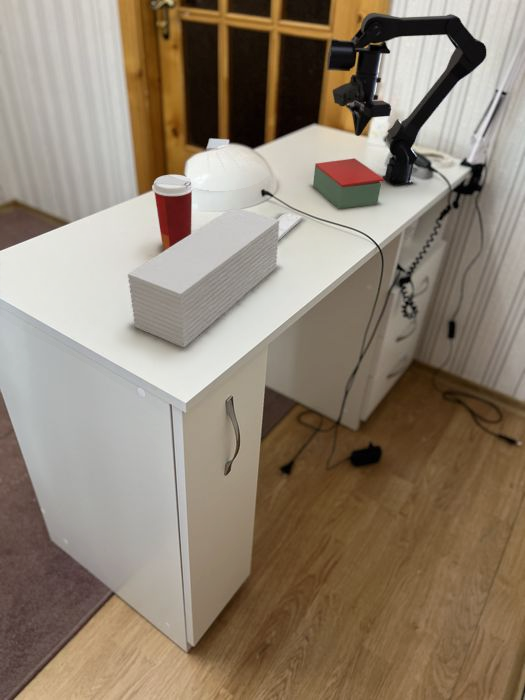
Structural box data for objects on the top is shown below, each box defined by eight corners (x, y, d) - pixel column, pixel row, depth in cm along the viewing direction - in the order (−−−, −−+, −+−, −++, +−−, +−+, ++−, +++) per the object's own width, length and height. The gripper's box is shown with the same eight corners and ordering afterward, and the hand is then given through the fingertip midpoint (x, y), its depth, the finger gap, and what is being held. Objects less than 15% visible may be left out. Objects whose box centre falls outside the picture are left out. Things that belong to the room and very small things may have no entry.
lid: (354, 160, 146) (354, 158, 146) (383, 181, 135) (384, 178, 135) (315, 165, 143) (315, 163, 142) (341, 187, 132) (342, 184, 131)
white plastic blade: (254, 239, 120) (254, 234, 120) (283, 215, 131) (283, 211, 130) (273, 244, 119) (274, 239, 118) (301, 220, 129) (302, 215, 128)
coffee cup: (202, 243, 118) (199, 177, 108) (185, 260, 112) (182, 191, 102) (168, 236, 120) (163, 170, 110) (150, 252, 114) (143, 184, 104)
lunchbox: (349, 182, 150) (352, 162, 146) (377, 204, 139) (381, 182, 135) (312, 186, 146) (315, 165, 143) (338, 209, 135) (341, 187, 132)
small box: (227, 188, 142) (227, 148, 136) (206, 187, 142) (206, 147, 136) (229, 177, 148) (230, 138, 142) (209, 176, 148) (209, 137, 142)
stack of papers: (233, 253, 115) (233, 206, 108) (276, 267, 111) (279, 220, 104) (134, 326, 93) (127, 273, 86) (184, 347, 89) (180, 293, 82)
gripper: (322, 65, 138) (315, 127, 148) (359, 82, 125) (349, 149, 135) (358, 63, 142) (350, 124, 152) (398, 80, 129) (386, 145, 139)
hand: (357, 135), depth 144 cm, fingers closed
